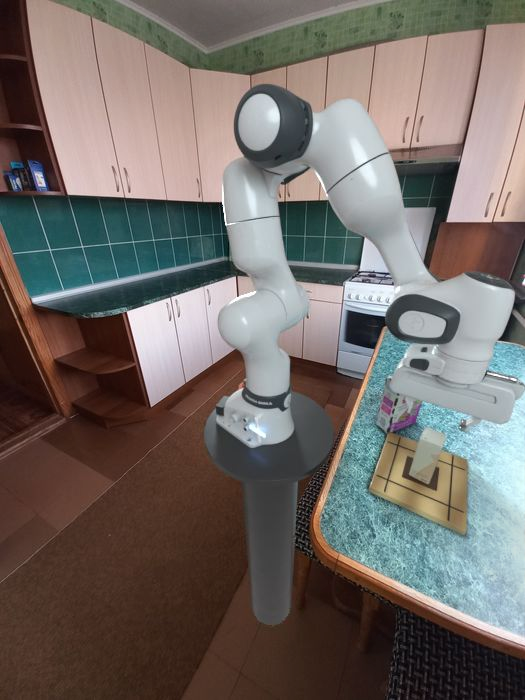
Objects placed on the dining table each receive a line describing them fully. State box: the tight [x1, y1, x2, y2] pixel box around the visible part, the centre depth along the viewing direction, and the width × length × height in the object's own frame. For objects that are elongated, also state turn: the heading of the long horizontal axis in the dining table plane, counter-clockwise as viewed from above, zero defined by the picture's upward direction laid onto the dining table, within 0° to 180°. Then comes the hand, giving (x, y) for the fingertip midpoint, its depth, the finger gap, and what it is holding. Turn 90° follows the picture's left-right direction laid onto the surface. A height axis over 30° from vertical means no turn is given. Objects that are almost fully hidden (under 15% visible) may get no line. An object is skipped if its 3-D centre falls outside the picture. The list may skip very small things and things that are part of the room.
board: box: [368, 432, 468, 536], centre depth 67 cm, size 18×20×2 cm
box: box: [409, 426, 448, 484], centre depth 64 cm, size 5×4×11 cm
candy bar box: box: [375, 374, 423, 435], centre depth 79 cm, size 11×5×16 cm, turn 115°
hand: (435, 420), depth 60 cm, fingers open, 8 cm apart
